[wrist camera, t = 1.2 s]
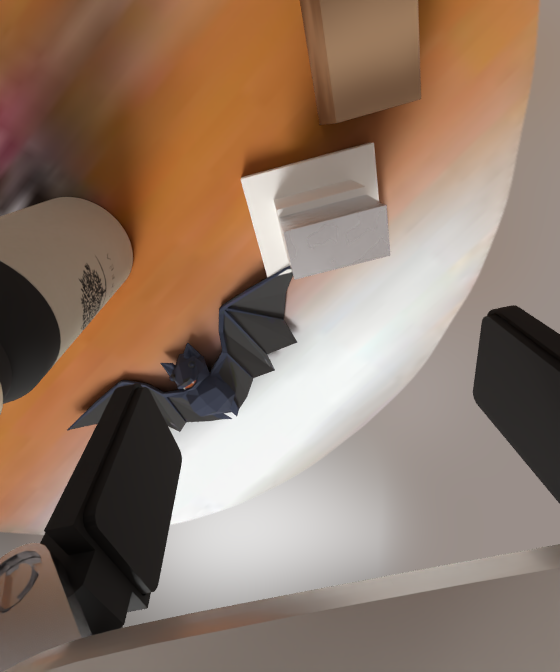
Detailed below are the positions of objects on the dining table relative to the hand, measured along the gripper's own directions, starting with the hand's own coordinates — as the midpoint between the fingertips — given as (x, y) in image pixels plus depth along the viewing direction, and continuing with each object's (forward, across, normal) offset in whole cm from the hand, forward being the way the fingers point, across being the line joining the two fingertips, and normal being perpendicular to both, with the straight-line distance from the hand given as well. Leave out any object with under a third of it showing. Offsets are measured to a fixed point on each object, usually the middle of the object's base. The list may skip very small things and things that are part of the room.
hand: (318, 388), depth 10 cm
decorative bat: (+22, +10, +14) cm, 28 cm away
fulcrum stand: (+22, -4, 0) cm, 22 cm away
